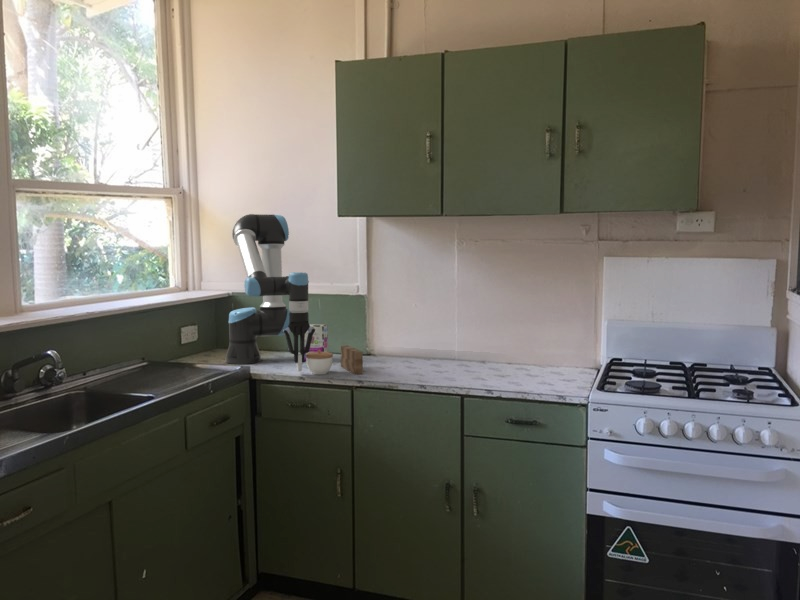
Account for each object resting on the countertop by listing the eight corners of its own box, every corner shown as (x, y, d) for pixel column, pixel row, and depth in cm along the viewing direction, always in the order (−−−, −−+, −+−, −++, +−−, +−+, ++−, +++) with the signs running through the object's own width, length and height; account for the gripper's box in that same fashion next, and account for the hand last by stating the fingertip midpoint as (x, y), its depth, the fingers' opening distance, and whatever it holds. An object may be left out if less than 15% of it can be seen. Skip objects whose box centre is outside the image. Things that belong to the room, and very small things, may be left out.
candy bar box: (328, 360, 288) (328, 324, 287) (323, 362, 284) (323, 325, 282) (305, 359, 292) (305, 323, 290) (300, 361, 287) (300, 324, 285)
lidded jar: (312, 369, 268) (312, 347, 267) (336, 371, 265) (336, 348, 264) (301, 374, 257) (301, 351, 256) (327, 376, 254) (326, 352, 254)
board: (341, 366, 274) (340, 345, 273) (347, 366, 275) (347, 345, 275) (355, 374, 258) (355, 352, 257) (362, 374, 259) (362, 351, 258)
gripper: (284, 313, 250) (285, 373, 251) (317, 311, 255) (317, 371, 257) (280, 311, 256) (281, 370, 258) (312, 310, 262) (312, 368, 263)
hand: (299, 370), depth 257 cm, fingers closed
